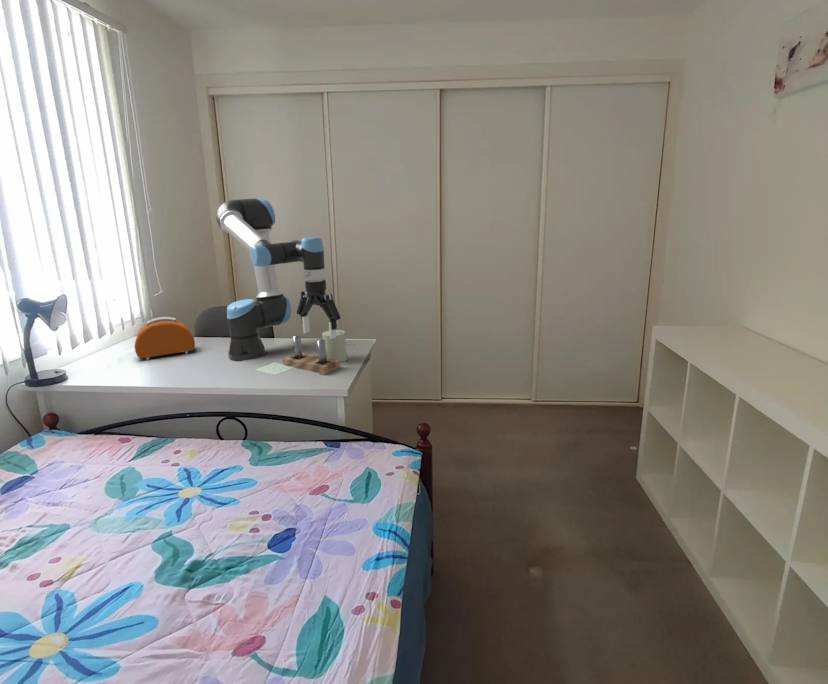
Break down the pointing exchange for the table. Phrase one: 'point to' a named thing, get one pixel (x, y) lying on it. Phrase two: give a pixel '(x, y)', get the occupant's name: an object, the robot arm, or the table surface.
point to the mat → (274, 368)
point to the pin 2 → (321, 351)
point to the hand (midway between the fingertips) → (319, 335)
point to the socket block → (312, 364)
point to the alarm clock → (163, 338)
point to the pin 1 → (297, 347)
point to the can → (335, 345)
